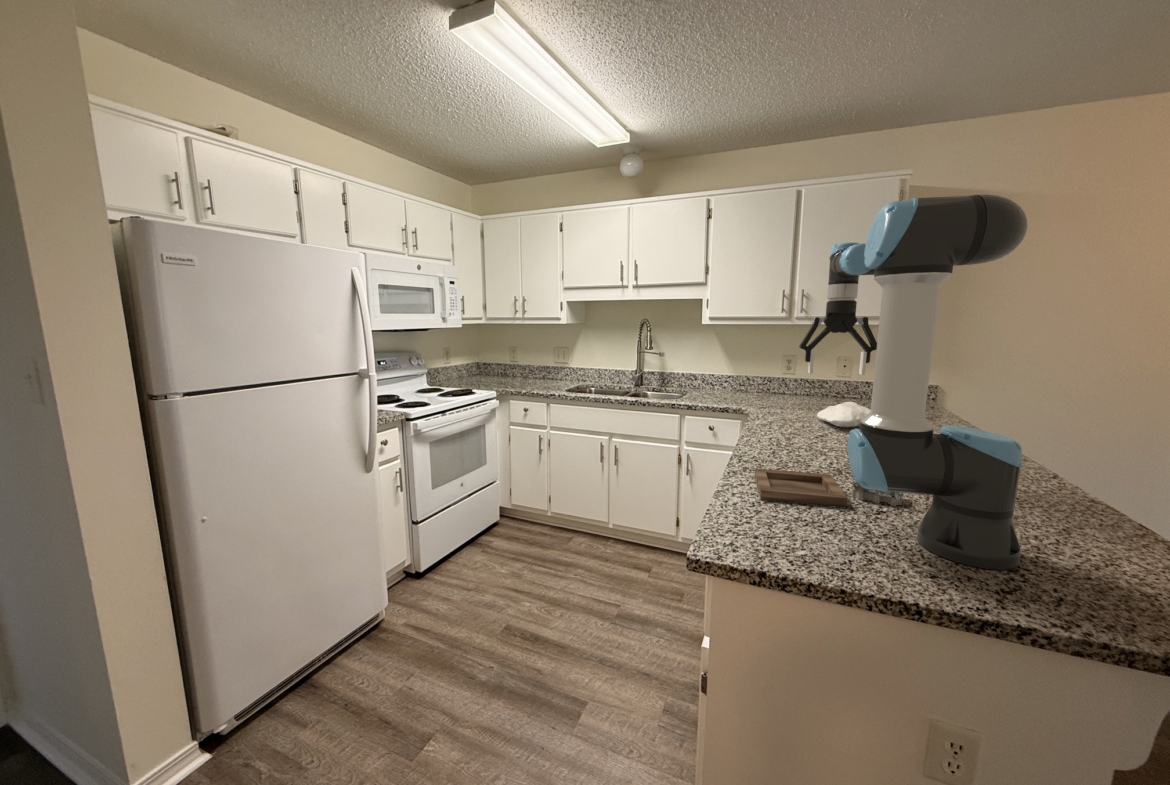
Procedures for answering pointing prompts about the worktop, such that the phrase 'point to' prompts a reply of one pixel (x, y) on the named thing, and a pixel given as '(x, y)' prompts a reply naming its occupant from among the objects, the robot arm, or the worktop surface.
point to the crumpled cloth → (844, 414)
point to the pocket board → (799, 488)
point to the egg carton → (876, 495)
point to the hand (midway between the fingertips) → (835, 373)
